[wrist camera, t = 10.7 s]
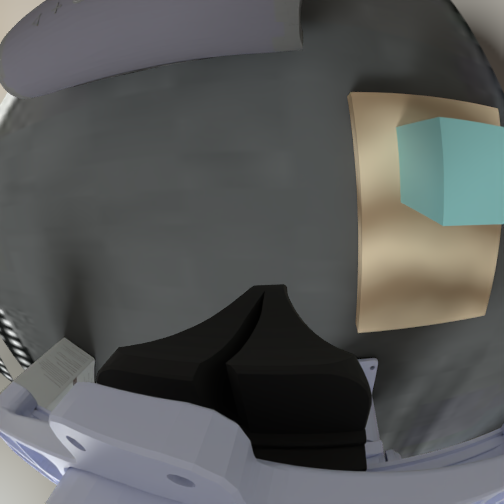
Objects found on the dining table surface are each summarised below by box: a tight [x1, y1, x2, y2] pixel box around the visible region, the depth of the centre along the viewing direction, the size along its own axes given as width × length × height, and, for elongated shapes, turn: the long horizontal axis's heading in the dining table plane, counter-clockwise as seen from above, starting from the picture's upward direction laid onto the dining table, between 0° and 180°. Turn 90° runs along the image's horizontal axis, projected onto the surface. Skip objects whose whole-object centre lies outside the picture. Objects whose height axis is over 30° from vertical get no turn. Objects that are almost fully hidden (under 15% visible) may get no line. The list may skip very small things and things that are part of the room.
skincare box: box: [0, 337, 95, 412], centre depth 25 cm, size 8×6×15 cm
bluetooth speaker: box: [0, 0, 303, 99], centre depth 12 cm, size 23×9×10 cm, turn 88°
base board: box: [347, 92, 501, 333], centre depth 18 cm, size 18×13×2 cm
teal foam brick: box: [396, 117, 504, 226], centre depth 13 cm, size 5×5×7 cm
